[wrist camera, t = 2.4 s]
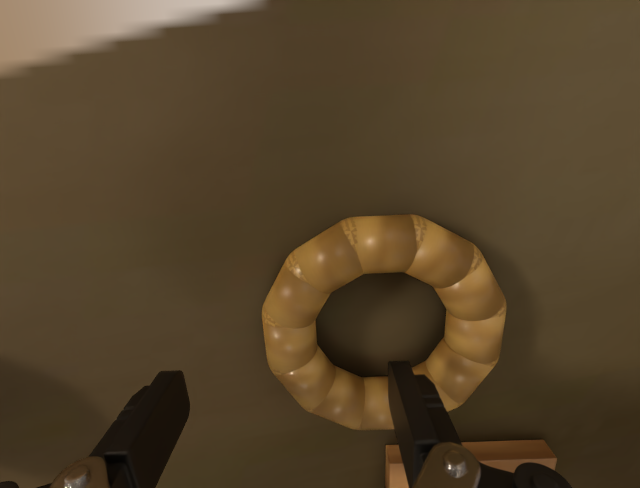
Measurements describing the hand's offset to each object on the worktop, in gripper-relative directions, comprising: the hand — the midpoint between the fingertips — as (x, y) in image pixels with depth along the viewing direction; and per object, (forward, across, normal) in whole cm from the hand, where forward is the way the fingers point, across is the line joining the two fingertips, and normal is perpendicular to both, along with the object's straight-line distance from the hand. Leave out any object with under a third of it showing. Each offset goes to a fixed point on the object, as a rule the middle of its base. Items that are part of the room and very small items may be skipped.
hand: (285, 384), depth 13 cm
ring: (+3, -4, 0) cm, 5 cm away
